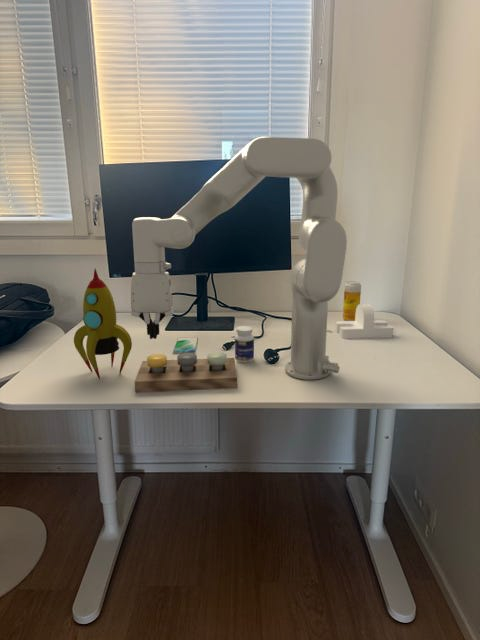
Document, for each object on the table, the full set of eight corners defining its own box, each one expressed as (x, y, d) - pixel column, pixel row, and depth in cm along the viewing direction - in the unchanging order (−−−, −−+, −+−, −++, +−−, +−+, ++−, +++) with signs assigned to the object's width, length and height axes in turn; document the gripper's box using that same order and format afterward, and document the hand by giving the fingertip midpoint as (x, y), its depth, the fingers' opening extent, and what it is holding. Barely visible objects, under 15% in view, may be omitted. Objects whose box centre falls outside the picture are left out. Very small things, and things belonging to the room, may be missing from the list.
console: (234, 367, 127) (234, 357, 126) (237, 388, 113) (237, 377, 113) (143, 370, 125) (142, 360, 124) (135, 392, 112) (134, 381, 111)
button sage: (226, 367, 122) (226, 351, 121) (227, 375, 117) (227, 358, 116) (207, 368, 122) (207, 352, 120) (207, 375, 117) (207, 359, 115)
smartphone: (198, 337, 152) (195, 352, 138) (198, 339, 152) (195, 355, 138) (177, 337, 152) (172, 352, 138) (177, 339, 152) (172, 355, 138)
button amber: (168, 369, 121) (167, 353, 120) (166, 377, 116) (165, 360, 115) (149, 370, 121) (148, 354, 119) (146, 378, 116) (145, 361, 114)
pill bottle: (237, 364, 129) (237, 331, 127) (232, 357, 135) (232, 326, 132) (256, 361, 131) (256, 330, 128) (250, 355, 136) (250, 324, 133)
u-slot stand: (393, 338, 151) (396, 307, 148) (341, 339, 150) (343, 309, 147) (383, 329, 160) (386, 300, 157) (334, 330, 160) (336, 302, 156)
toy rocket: (91, 386, 116) (80, 274, 107) (76, 370, 126) (64, 266, 117) (135, 375, 123) (128, 269, 114) (117, 360, 133) (110, 262, 124)
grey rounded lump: (197, 368, 121) (197, 352, 120) (197, 376, 116) (196, 359, 115) (178, 369, 121) (177, 353, 120) (177, 376, 116) (176, 360, 115)
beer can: (339, 318, 173) (341, 281, 169) (353, 317, 175) (355, 280, 171) (347, 323, 167) (350, 284, 163) (361, 321, 169) (364, 283, 165)
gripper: (180, 265, 114) (183, 332, 119) (122, 265, 113) (127, 333, 118) (179, 270, 107) (181, 341, 112) (116, 270, 106) (121, 342, 111)
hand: (153, 337), depth 115 cm, fingers closed
